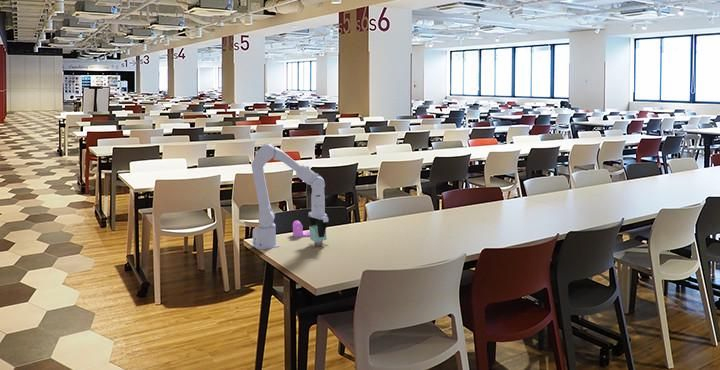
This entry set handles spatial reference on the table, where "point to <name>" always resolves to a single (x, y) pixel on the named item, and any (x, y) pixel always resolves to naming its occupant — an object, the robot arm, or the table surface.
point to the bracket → (299, 230)
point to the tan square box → (318, 244)
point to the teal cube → (316, 234)
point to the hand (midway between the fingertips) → (318, 235)
